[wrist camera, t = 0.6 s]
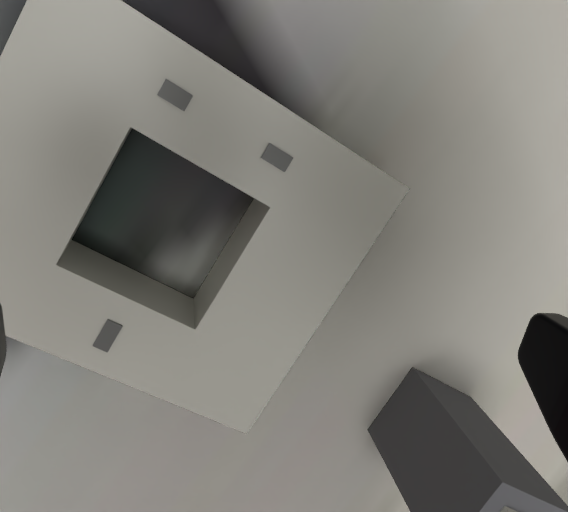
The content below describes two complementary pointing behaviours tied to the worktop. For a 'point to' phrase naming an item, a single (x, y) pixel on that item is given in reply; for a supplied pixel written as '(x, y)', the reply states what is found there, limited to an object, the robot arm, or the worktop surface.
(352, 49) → the worktop surface
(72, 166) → the socket plate
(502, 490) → the plug
